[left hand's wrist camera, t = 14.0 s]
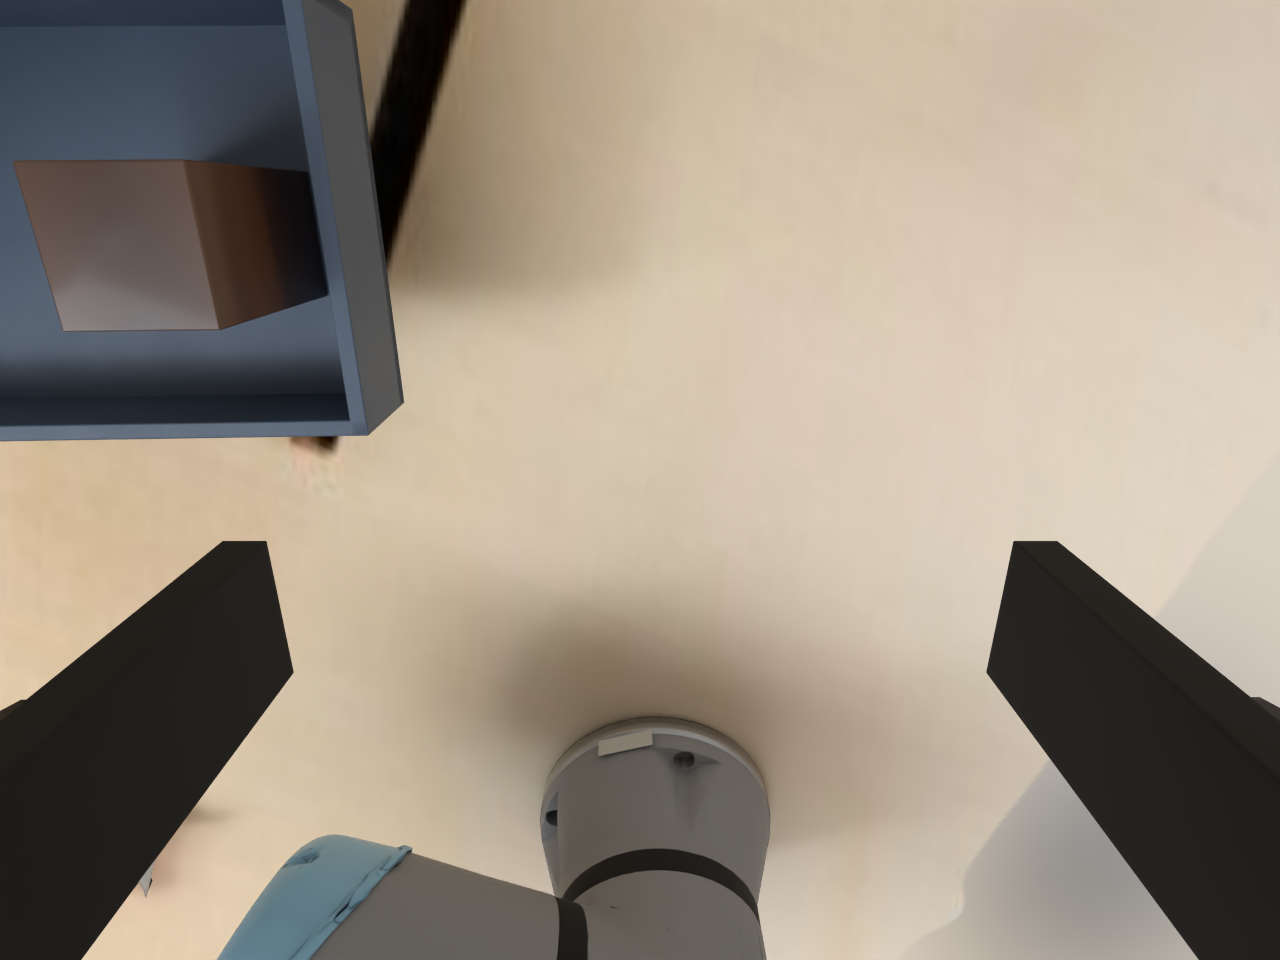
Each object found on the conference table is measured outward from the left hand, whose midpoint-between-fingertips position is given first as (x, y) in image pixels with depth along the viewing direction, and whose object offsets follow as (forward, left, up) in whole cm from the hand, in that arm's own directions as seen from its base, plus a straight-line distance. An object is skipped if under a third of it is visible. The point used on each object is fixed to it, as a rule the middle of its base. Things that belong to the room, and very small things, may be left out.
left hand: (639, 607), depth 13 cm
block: (+12, +10, -18) cm, 23 cm away
